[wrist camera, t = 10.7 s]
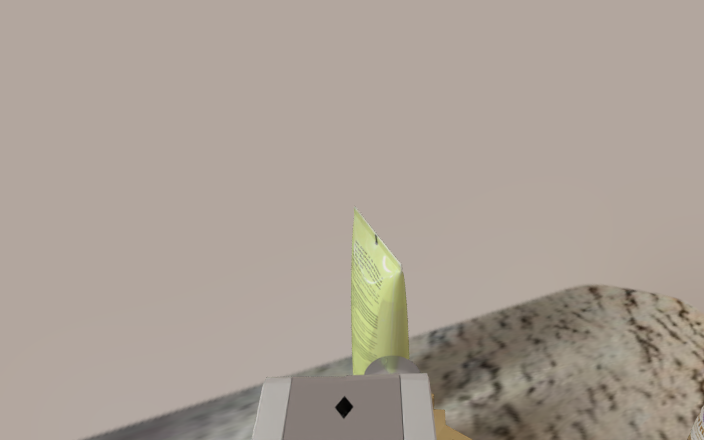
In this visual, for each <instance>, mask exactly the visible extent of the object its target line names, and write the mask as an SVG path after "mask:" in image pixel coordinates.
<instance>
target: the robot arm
mask: <svg viewBox="0 0 704 440" xmlns="http://www.w3.org/2000/svg"><path fill="white" fill-rule="evenodd" d="M252 440H437V437H436V429H435V421H434V413H433V405H432V397H431V389H430V381H429V377H428V374H427V373H412V374H400V376H399V373H393V374H369V375H346V377H267V378H266V380H265V382H264V384H263V386H262V391H261V396H260V401H259V406H258V411H257V416H256V421H255V426H254V431H253V435H252Z"/></svg>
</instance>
